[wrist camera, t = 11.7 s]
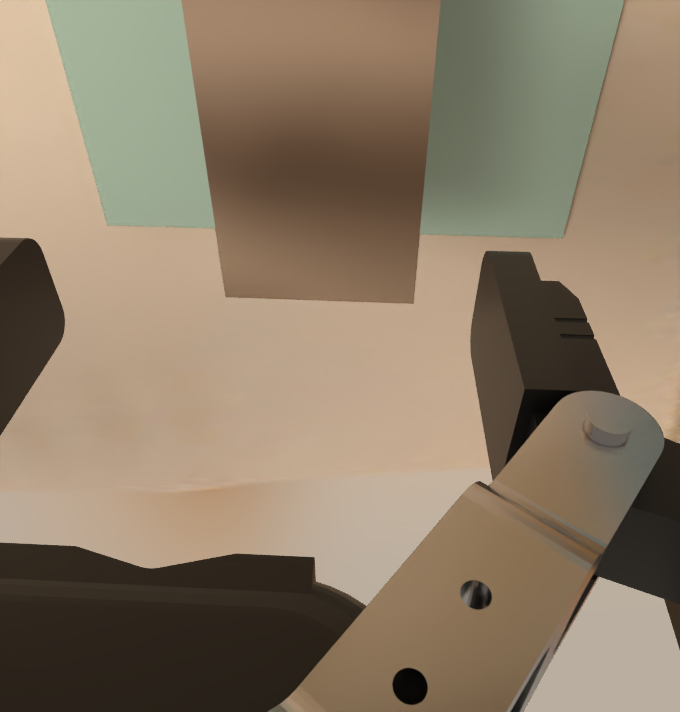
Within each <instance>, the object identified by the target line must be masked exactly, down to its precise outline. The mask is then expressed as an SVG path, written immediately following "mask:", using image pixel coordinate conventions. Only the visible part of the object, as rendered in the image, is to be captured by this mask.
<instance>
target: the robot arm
mask: <svg viewBox="0 0 680 712" xmlns="http://www.w3.org/2000/svg"><path fill="white" fill-rule="evenodd" d="M64 327H65V318H64V312H63V308H62V305H61V302H60V300H59V297H58V294H57V291H56V288H55V286H54V283H53V280H52V277H51V274H50V272H49V269H48V266H47V263H46V260H45V258H44V255H43V252H42V250H41V248H40V246H39V245H38V243H37V242H36V241H35V240H33V239H29V238H0V435H1V434H2V432H3V431H4V429H5V427H6V426H7V424H8V423H9V421H10V420H11V418H12V417H13V415H14V414H15V412H16V410H17V409H18V407H19V406H20V404H21V403H22V401H23V400H24V398H25V396H26V395H27V393H28V392H29V390H30V389H31V387H32V386H33V384H34V382H35V381H36V379H37V378H38V376H39V375H40V373H41V372H42V370H43V369H44V367H45V365H46V364H47V362H48V361H49V359H50V358H51V356H52V355H53V353H54V351H55V350H56V348H57V347H58V345H59V344H60V342H61V340H62V337H63V334H64ZM471 358H472V364H473V369H474V375H475V381H476V387H477V393H478V398H479V404H480V410H481V416H482V422H483V427H484V433H485V439H486V445H487V451H488V456H489V462H490V468H491V474H492V479H493V482H492V483H491V484H490V485H488V486H487V485H486V484H484V483H482V482H480V481H479V482H475V483H474V484H472V485H471V486H470V487H469V488H468V489H467V490H466V491H465V492H464V493H463V494H462V495H461V496H460V498H459V499H458V500H457V501H456V502H455V504H454V505H453V506H452V507H451V508H450V509H449V511H448V512H447V513H446V514H445V515H444V516H443V518H442V519H441V520H440V521H439V522H438V523H437V525H436V526H435V527H434V528H433V529H432V531H431V532H430V533H429V534H428V535H427V537H425V539H424V540H423V541H422V542H421V543H420V545H419V546H418V547H417V548H416V549H415V550H414V552H413V553H412V554H411V555H410V556H409V557H408V559H407V560H406V561H405V562H404V563H403V564H402V566H401V567H400V568H399V569H398V570H397V572H396V573H395V574H394V575H393V576H392V577H391V578H390V580H389V581H388V582H387V583H386V584H385V585H384V587H383V588H382V589H381V590H380V591H379V593H378V594H377V595H376V596H375V597H374V598H373V600H372V601H371V602H370V603H369V604H368V605H367V606H366V605H364V604H363V603H361V602H359V601H358V600H356V599H355V598H353V597H351V596H349V595H348V594H346V593H344V592H342V591H340V590H337V589H335V588H333V587H331V586H327V585H325V584H321V583H318V582H316V579H315V560H314V557H295V556H274V555H273V556H272V555H252V554H232V555H226V556H221V557H216V558H210V559H205V560H199V561H194V562H189V563H183V564H178V565H172V566H167V567H161V568H154V569H149V568H143V567H139V566H135V565H133V564H130V563H127V562H123V561H120V560H117V559H114V558H111V557H108V556H105V555H101V554H98V553H95V552H92V551H89V550H86V549H83V548H80V547H76V546H59V545H37V544H16V543H0V712H524V710H525V708H526V706H527V705H528V703H529V701H530V699H531V697H532V695H533V693H534V691H535V690H536V688H537V686H538V684H539V682H540V680H541V678H542V676H543V675H544V673H545V671H546V669H547V667H548V666H549V664H550V662H551V660H552V658H553V657H554V655H555V653H556V652H557V650H558V648H559V646H560V645H561V643H562V641H563V639H564V638H565V636H566V634H567V632H568V631H569V629H570V627H571V625H572V624H573V622H574V620H575V618H576V616H577V615H578V613H579V611H580V610H581V608H582V606H583V604H584V603H585V601H586V599H587V597H588V596H589V594H590V592H591V590H592V588H593V587H594V585H595V583H596V581H597V579H598V578H599V577H602V578H605V579H608V580H611V581H614V582H616V583H619V584H623V585H626V586H628V587H631V588H634V589H637V590H640V591H643V592H646V593H649V594H652V595H655V596H657V597H660V598H663V599H664V600H665V603H666V606H667V610H668V613H669V616H670V619H671V623H672V626H673V629H674V632H675V635H676V638H677V642H678V645H679V648H680V444H679V443H676V442H673V441H671V440H669V439H666V438H664V436H663V432H662V430H661V428H660V426H659V424H658V423H657V421H656V420H655V419H654V418H653V417H652V416H651V415H650V414H649V413H648V412H647V411H646V410H645V409H643V408H642V407H640V406H639V405H637V404H636V403H634V402H632V401H630V400H628V399H626V398H624V397H621V396H620V394H619V392H618V389H617V387H616V385H615V382H614V380H613V378H612V375H611V373H610V371H609V368H608V366H607V364H606V361H605V359H604V357H603V355H602V352H601V350H600V348H599V345H598V343H597V341H596V339H594V334H593V331H592V329H591V327H590V324H589V323H587V317H586V315H585V313H584V310H583V308H582V306H581V303H580V301H579V299H578V298H577V297H576V296H575V295H574V294H573V293H571V292H570V291H569V290H568V289H567V288H566V287H565V286H564V285H562V284H561V283H560V282H559V281H541V280H540V277H539V274H538V272H537V269H536V266H535V263H534V260H533V258H532V255H531V254H530V253H529V252H505V251H486V252H485V254H484V257H483V261H482V266H481V272H480V278H479V284H478V290H477V296H476V301H475V307H474V313H473V319H472V326H471Z"/></svg>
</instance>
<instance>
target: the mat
mask: <svg viewBox="0 0 680 712" xmlns="http://www.w3.org/2000/svg"><path fill="white" fill-rule="evenodd" d="M46 4H47V7H48V11H49V15H50V18H51V22H52V26H53V29H54V33H55V37H56V40H57V44H58V47H59V51H60V55H61V58H62V62H63V66H64V69H65V73H66V76H67V80H68V84H69V87H70V91H71V95H72V98H73V102H74V105H75V109H76V113H77V116H78V120H79V124H80V127H81V131H82V134H83V138H84V142H85V145H86V149H87V153H88V156H89V160H90V163H91V167H92V171H93V174H94V178H95V182H96V185H97V189H98V192H99V196H100V200H101V203H102V207H103V211H104V214H105V218H106V221H107V225H116V226H151V227H185V228H215V222H214V216H213V209H212V202H211V196H210V189H209V182H208V176H207V169H206V162H205V156H204V149H203V142H202V136H201V129H200V122H199V116H198V109H197V102H196V96H195V89H194V82H193V75H192V69H191V62H190V55H189V49H188V42H187V35H186V29H185V22H184V15H183V9H182V2H181V0H46ZM623 4H624V0H441V3H440V14H439V25H438V36H437V47H436V59H435V70H434V81H433V92H432V103H431V114H430V125H429V136H428V147H427V158H426V169H425V181H424V192H423V203H422V214H421V225H420V234H429V235H464V236H498V237H533V238H563V235H564V231H565V227H566V223H567V220H568V216H569V212H570V208H571V204H572V200H573V196H574V193H575V189H576V185H577V181H578V177H579V173H580V169H581V166H582V162H583V158H584V154H585V150H586V146H587V142H588V139H589V135H590V131H591V127H592V123H593V119H594V115H595V112H596V108H597V104H598V100H599V96H600V92H601V88H602V85H603V81H604V77H605V73H606V69H607V65H608V61H609V58H610V54H611V50H612V46H613V42H614V38H615V34H616V31H617V27H618V23H619V19H620V15H621V11H622V7H623Z"/></svg>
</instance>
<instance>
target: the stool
mask: <svg viewBox="0 0 680 712" xmlns="http://www.w3.org/2000/svg"><path fill="white" fill-rule="evenodd" d="M181 2H182V9H183V15H184V22H185V29H186V35H187V42H188V49H189V55H190V62H191V69H192V75H193V82H194V89H195V96H196V102H197V109H198V116H199V122H200V129H201V136H202V142H203V149H204V156H205V162H206V169H207V176H208V182H209V189H210V196H211V202H212V209H213V216H214V222H215V229H216V236H217V242H218V249H219V256H220V262H221V269H222V276H223V283H224V289H225V296H226V297H239V298H267V299H296V300H324V301H353V302H381V303H409V304H413V303H414V291H415V280H416V269H417V258H418V247H419V236H420V225H421V214H422V203H423V192H424V181H425V169H426V158H427V147H428V136H429V125H430V114H431V103H432V92H433V81H434V70H435V59H436V47H437V36H438V25H439V14H440V3H441V0H181Z"/></svg>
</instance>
